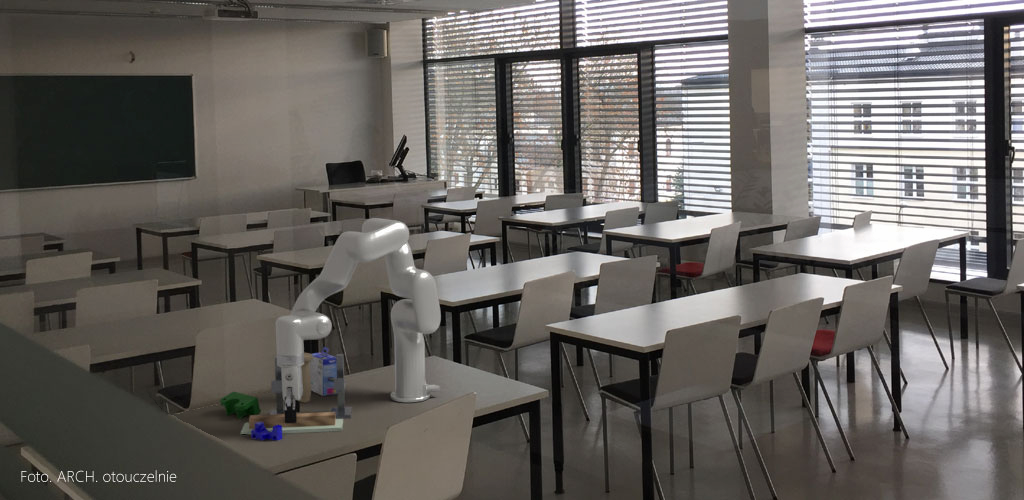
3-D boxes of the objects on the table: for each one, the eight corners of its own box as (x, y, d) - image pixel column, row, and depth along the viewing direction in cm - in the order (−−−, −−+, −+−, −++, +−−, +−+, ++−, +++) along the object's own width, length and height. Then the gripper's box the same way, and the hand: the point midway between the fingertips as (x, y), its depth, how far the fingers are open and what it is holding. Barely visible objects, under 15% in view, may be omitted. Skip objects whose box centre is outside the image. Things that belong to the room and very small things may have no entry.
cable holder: (251, 438, 263) (250, 425, 262) (260, 435, 266) (259, 421, 266) (273, 443, 259) (273, 429, 259) (282, 439, 263) (281, 425, 262)
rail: (335, 421, 274) (335, 411, 273) (335, 425, 271) (334, 415, 270) (250, 425, 271) (250, 415, 270) (249, 428, 268) (248, 418, 267)
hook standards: (351, 410, 288) (350, 352, 286) (350, 419, 279) (348, 360, 277) (271, 413, 285) (269, 355, 283) (267, 422, 276) (265, 362, 274)
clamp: (229, 428, 286) (215, 401, 285) (244, 418, 290) (230, 392, 289) (248, 421, 278) (234, 394, 277) (264, 411, 282) (250, 384, 281)
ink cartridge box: (338, 393, 306) (337, 350, 304) (323, 396, 302) (321, 352, 300) (324, 387, 313) (323, 344, 311) (309, 390, 310) (307, 347, 308)
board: (343, 422, 277) (343, 418, 277) (341, 430, 269) (341, 427, 269) (245, 426, 273) (245, 422, 273) (240, 435, 265) (240, 431, 265)
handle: (303, 405, 293) (301, 358, 291) (293, 400, 298) (291, 354, 296) (317, 402, 296) (315, 355, 294) (307, 397, 301) (305, 351, 299)
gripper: (301, 366, 260) (303, 426, 263) (306, 351, 277) (308, 408, 280) (273, 367, 259) (275, 427, 262) (280, 352, 276) (282, 409, 279)
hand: (292, 417), depth 271 cm, fingers open, 9 cm apart
